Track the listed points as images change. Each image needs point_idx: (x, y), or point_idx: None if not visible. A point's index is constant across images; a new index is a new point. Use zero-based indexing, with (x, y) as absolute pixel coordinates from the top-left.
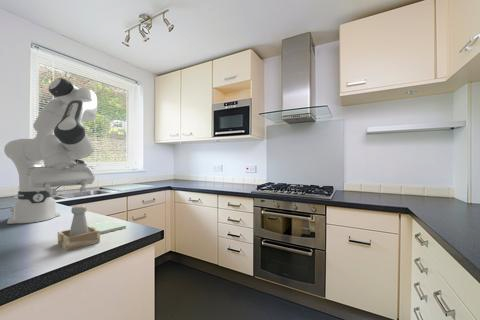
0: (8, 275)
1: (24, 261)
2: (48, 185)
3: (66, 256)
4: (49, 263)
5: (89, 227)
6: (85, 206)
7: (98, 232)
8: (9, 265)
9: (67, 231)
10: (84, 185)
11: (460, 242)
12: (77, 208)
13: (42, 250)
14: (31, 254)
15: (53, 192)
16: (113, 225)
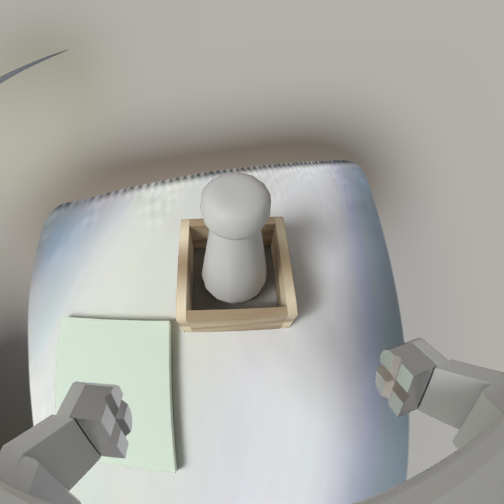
0: (368, 195)
1: (358, 242)
2: (491, 384)
3: (281, 204)
4: (313, 194)
5: (186, 294)
6: (208, 184)
7: (186, 222)
8: (379, 242)
9: (265, 308)
10: (52, 426)
11: (43, 59)
12: (250, 175)
13: (328, 293)
14: (350, 280)
15: (408, 342)
16: (82, 361)
